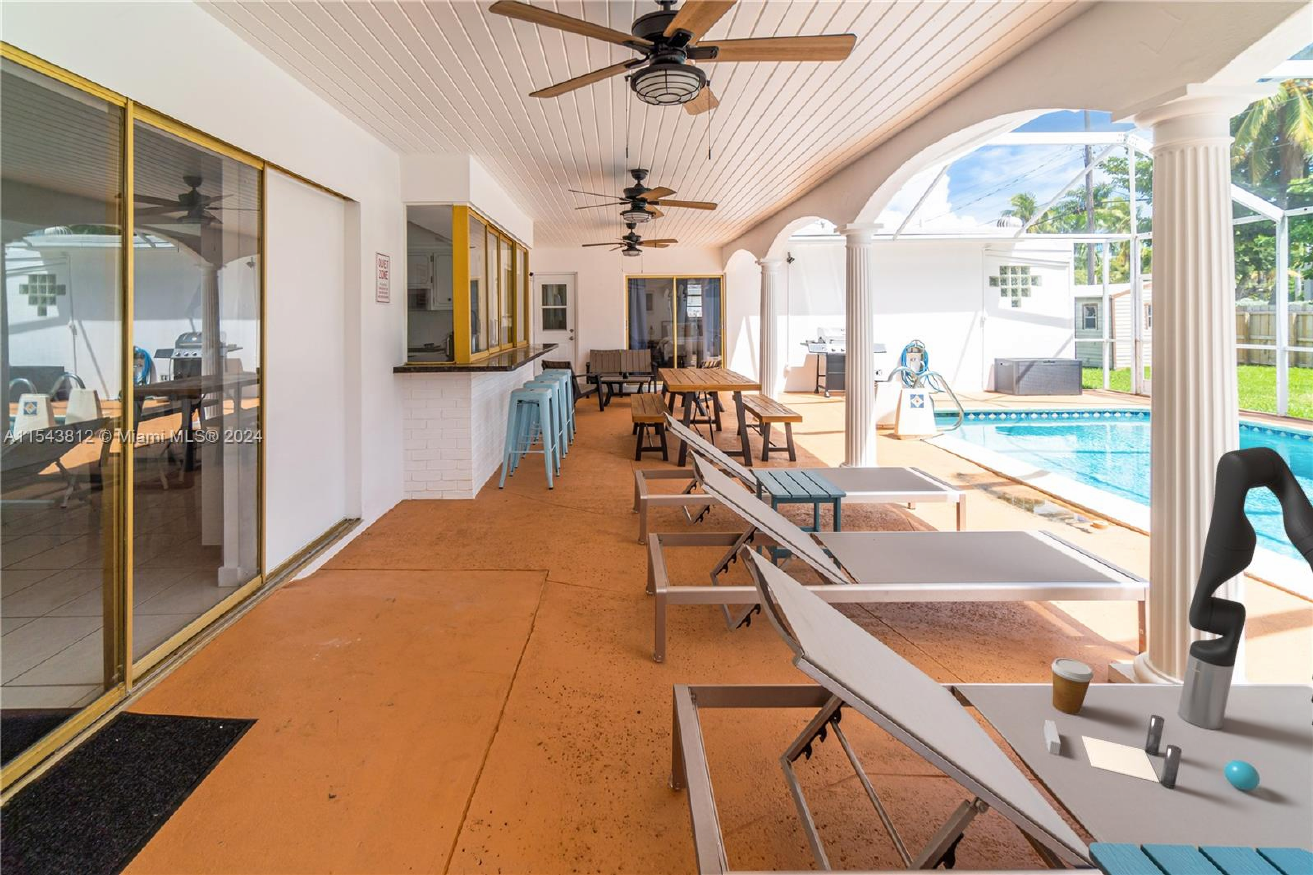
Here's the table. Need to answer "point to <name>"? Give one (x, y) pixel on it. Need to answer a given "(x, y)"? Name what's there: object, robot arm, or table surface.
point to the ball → (1242, 775)
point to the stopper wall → (1052, 737)
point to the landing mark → (1119, 759)
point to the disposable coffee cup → (1070, 684)
